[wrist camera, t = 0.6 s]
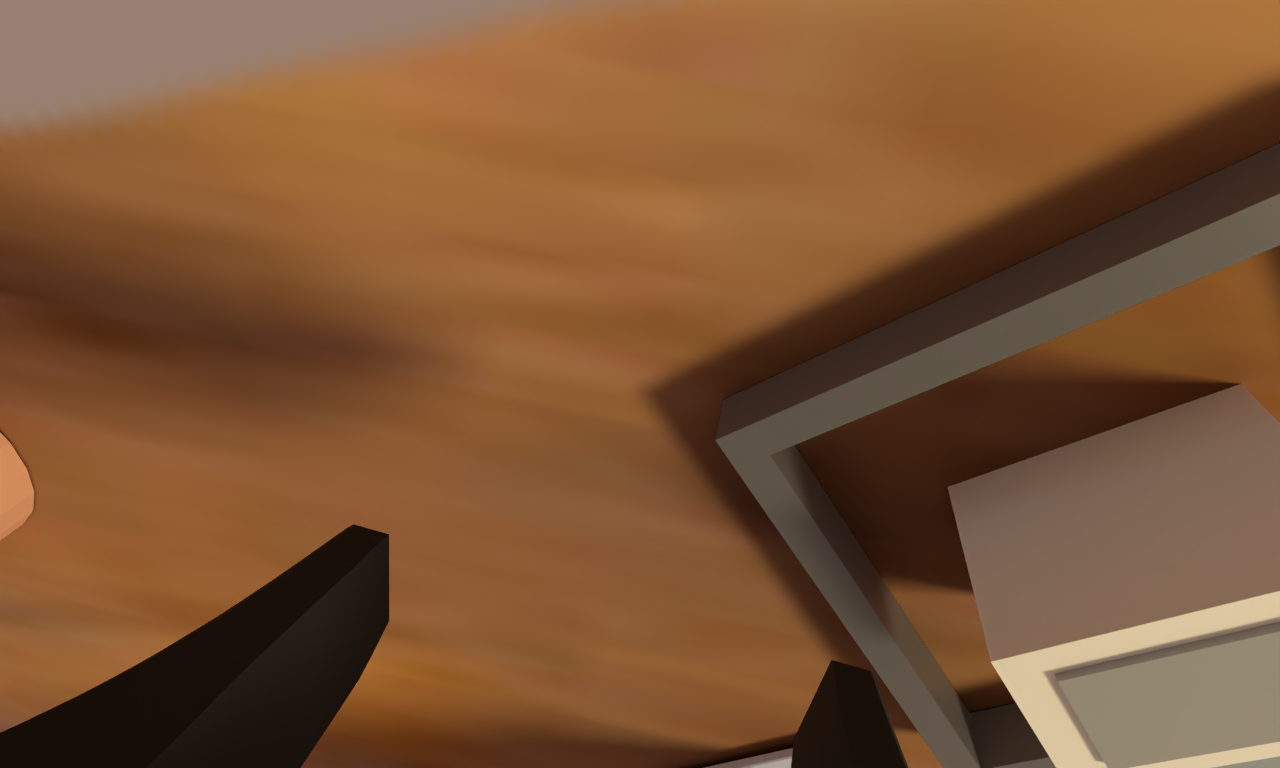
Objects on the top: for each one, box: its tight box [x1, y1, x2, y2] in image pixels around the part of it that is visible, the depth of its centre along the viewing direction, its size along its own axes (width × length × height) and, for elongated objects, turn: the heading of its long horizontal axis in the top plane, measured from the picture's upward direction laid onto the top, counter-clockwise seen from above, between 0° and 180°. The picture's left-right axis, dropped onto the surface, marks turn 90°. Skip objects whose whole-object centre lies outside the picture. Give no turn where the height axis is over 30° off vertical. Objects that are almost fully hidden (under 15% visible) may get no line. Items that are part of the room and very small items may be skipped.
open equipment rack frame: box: [715, 143, 1280, 768], centre depth 19 cm, size 15×16×2 cm
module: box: [948, 384, 1280, 768], centre depth 17 cm, size 4×7×6 cm, turn 124°
